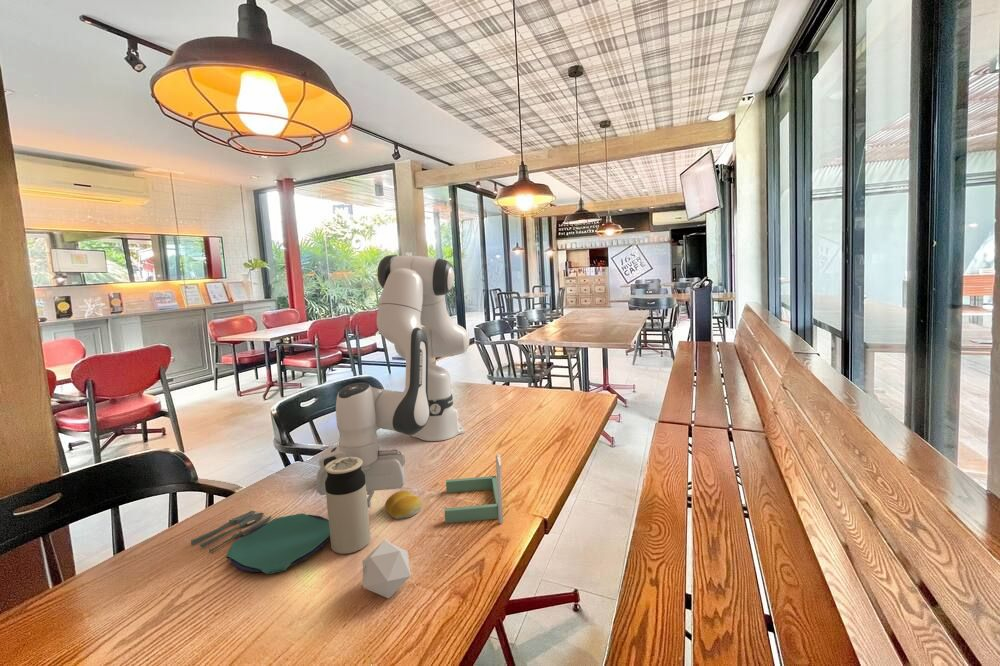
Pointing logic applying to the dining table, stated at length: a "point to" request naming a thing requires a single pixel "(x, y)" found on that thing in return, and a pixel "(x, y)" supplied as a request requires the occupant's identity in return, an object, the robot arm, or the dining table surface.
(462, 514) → the green pocket
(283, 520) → the cutlery set
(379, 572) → the die
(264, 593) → the dining table surface
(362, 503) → the travel mug
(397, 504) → the bread roll
